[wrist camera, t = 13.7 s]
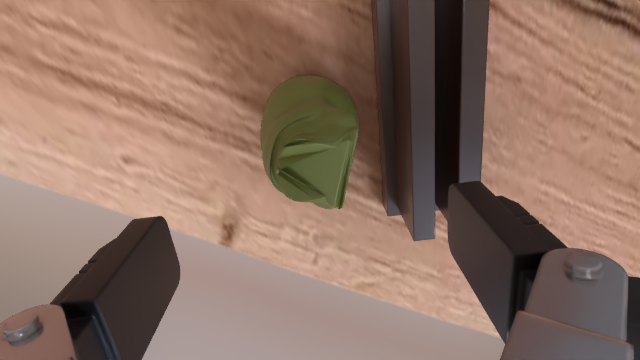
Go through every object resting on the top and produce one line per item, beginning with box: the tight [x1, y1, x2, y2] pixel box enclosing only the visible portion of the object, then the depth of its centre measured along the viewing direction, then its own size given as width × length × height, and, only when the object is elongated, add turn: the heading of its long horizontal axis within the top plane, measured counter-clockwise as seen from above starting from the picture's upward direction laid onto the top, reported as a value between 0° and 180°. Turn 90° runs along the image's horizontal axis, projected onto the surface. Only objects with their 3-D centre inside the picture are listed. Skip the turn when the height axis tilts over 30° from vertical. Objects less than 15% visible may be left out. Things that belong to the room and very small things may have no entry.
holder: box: [372, 0, 489, 241], centre depth 22 cm, size 5×14×6 cm, turn 7°
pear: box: [261, 75, 359, 209], centre depth 20 cm, size 6×5×10 cm
